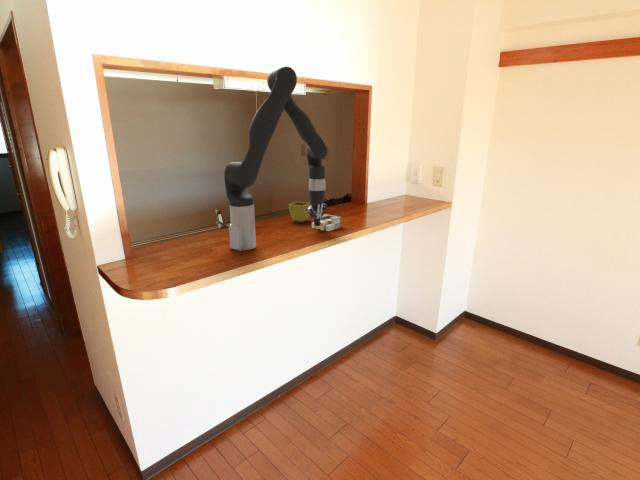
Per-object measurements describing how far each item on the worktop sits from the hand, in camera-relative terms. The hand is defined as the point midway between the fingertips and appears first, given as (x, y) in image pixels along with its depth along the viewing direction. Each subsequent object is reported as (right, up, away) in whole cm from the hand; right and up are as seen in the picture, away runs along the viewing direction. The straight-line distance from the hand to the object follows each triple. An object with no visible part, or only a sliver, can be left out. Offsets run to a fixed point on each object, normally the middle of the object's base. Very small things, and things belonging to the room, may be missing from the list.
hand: (317, 225), depth 169 cm
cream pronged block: (+3, -1, +5) cm, 6 cm away
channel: (+5, 0, +6) cm, 7 cm away
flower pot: (-9, +3, +19) cm, 21 cm away
